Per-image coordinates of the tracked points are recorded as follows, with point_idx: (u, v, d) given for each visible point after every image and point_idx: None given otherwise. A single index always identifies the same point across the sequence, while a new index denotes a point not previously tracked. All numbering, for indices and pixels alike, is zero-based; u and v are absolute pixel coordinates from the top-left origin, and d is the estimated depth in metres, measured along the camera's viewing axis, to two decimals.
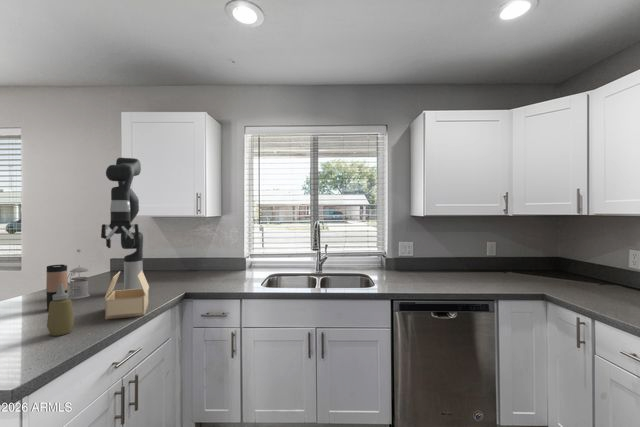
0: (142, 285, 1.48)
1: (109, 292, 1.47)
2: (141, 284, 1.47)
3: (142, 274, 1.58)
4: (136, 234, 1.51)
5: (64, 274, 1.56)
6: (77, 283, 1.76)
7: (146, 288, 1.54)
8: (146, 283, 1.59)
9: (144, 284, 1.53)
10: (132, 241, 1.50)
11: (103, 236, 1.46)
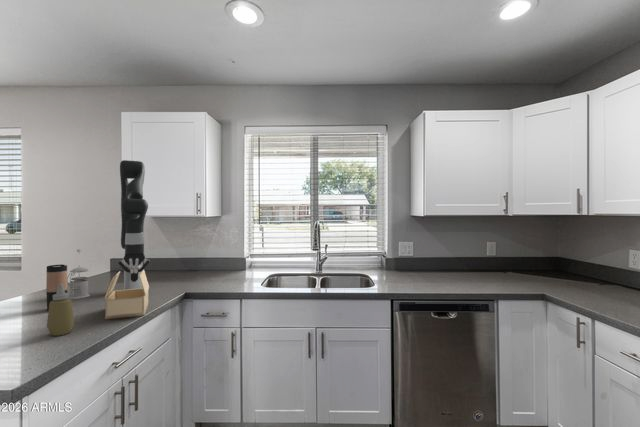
0: (143, 285, 1.48)
1: (109, 292, 1.47)
2: (142, 284, 1.47)
3: (144, 274, 1.58)
4: (140, 268, 1.53)
5: (64, 274, 1.56)
6: (77, 283, 1.76)
7: (146, 288, 1.54)
8: (147, 283, 1.59)
9: (145, 284, 1.54)
10: (136, 275, 1.53)
11: (128, 270, 1.51)
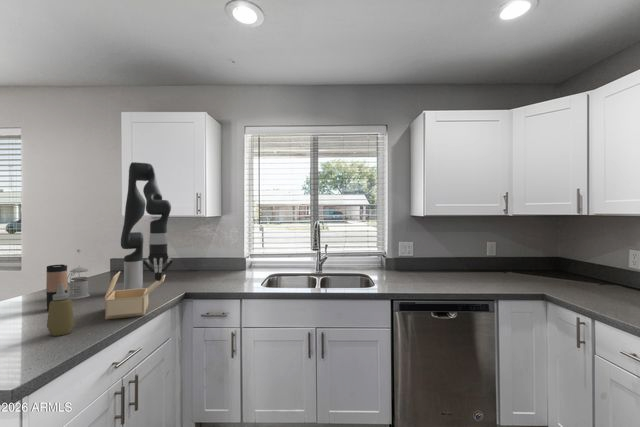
0: (154, 288, 1.50)
1: (109, 292, 1.47)
2: (155, 287, 1.49)
3: (162, 278, 1.61)
4: (164, 268, 1.56)
5: (64, 274, 1.56)
6: (77, 283, 1.76)
7: (150, 289, 1.55)
8: (153, 285, 1.60)
9: (154, 286, 1.55)
10: (160, 275, 1.56)
11: (152, 270, 1.55)
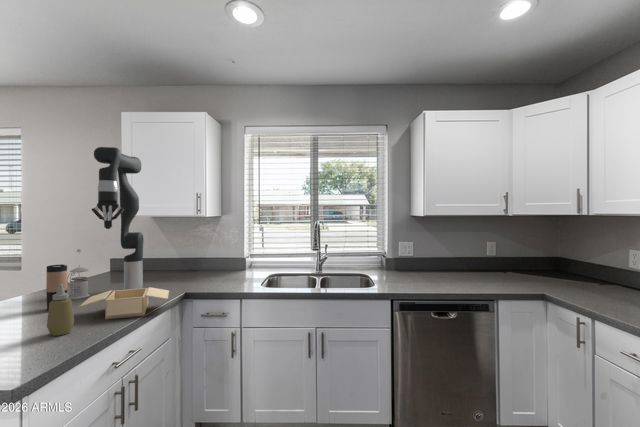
0: None
1: (103, 296, 1.47)
2: (157, 297, 1.49)
3: None
4: (113, 216, 1.55)
5: (64, 274, 1.56)
6: (77, 283, 1.76)
7: None
8: None
9: None
10: (109, 223, 1.55)
11: (101, 217, 1.53)
